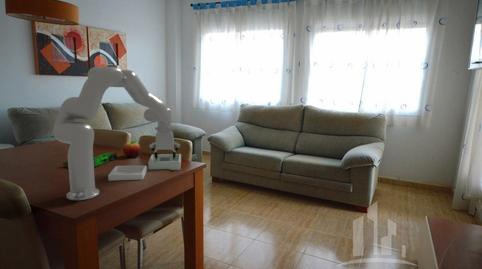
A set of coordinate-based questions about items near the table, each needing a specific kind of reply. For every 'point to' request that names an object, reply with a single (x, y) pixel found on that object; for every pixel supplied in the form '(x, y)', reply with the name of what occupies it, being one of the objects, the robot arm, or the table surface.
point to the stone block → (165, 158)
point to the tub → (128, 173)
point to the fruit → (132, 149)
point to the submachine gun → (100, 159)
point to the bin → (165, 162)
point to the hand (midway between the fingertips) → (165, 158)
